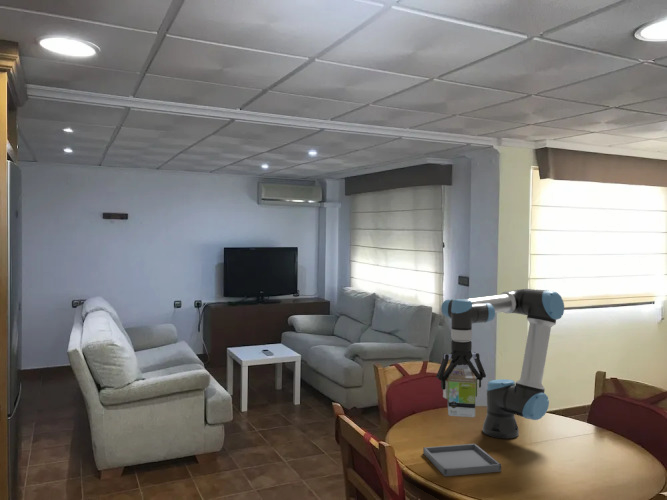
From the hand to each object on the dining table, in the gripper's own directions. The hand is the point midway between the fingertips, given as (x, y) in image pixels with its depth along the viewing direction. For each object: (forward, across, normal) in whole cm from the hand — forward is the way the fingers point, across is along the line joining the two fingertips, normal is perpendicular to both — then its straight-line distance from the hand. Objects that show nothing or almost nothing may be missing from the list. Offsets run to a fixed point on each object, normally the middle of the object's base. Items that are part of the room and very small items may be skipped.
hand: (461, 397), depth 205 cm
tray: (+25, 0, 0) cm, 25 cm away
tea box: (+6, 0, 0) cm, 6 cm away
